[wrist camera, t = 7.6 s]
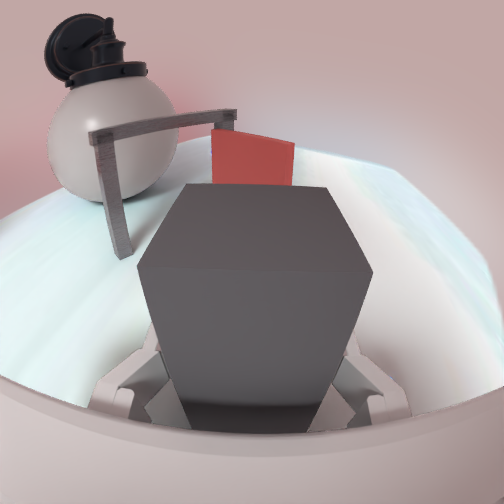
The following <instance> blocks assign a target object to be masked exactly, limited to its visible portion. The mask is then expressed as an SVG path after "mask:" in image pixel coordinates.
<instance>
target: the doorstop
mask: <svg viewBox="0 0 504 504" xmlns="http://www.w3.org/2000/svg"><path fill="white" fill-rule="evenodd" d="M137 269H138V273H139V277H140V281H141V285H142V288H143V292H144V296H145V299H146V303H147V306H148V310H149V313H150V316H151V320H152V323H153V326H154V329H155V332H156V336H157V339H158V342H159V345H160V348H161V351H162V354H163V356H164V359H165V362H166V365H167V368H168V370H169V373H170V376H171V378H172V381H173V384H174V386H175V389H176V391H177V394H178V396H179V399H180V401H181V404H182V406H183V409H184V411H185V413H186V416H187V418H188V420H189V423H190V425H191V427H192V429H193V430H201V431H212V432H226V433H249V434H284V433H306V431H307V430H308V428H309V426H310V424H311V422H312V420H313V418H314V416H315V414H316V412H317V410H318V408H319V406H320V404H321V402H322V400H323V398H324V396H325V394H326V392H327V390H328V388H329V386H330V383H331V381H332V379H333V377H334V375H335V372H336V370H337V368H338V366H339V363H340V361H341V359H342V356H343V354H344V351H345V349H346V347H347V344H348V342H349V339H350V337H351V334H352V332H353V329H354V326H355V324H356V321H357V318H358V316H359V313H360V310H361V307H362V305H363V302H364V299H365V296H366V293H367V290H368V287H369V284H370V281H371V278H372V275H373V271H372V269H371V267H370V265H369V263H368V261H367V259H366V257H365V255H364V253H363V252H362V250H361V248H360V246H359V244H358V242H357V240H356V238H355V237H354V235H353V233H352V231H351V229H350V228H349V226H348V224H347V222H346V220H345V219H344V217H343V215H342V213H341V212H340V210H339V208H338V207H337V205H336V203H335V201H334V200H333V198H332V196H331V195H330V193H329V191H328V190H327V188H323V187H307V186H288V185H263V184H186V185H185V187H184V188H183V190H182V191H181V193H180V195H179V196H178V198H177V199H176V201H175V202H174V204H173V206H172V207H171V209H170V210H169V212H168V214H167V215H166V217H165V218H164V220H163V222H162V223H161V225H160V227H159V228H158V230H157V232H156V233H155V235H154V237H153V238H152V240H151V242H150V244H149V245H148V247H147V249H146V251H145V252H144V254H143V256H142V258H141V259H140V261H139V263H138V265H137Z"/></svg>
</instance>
